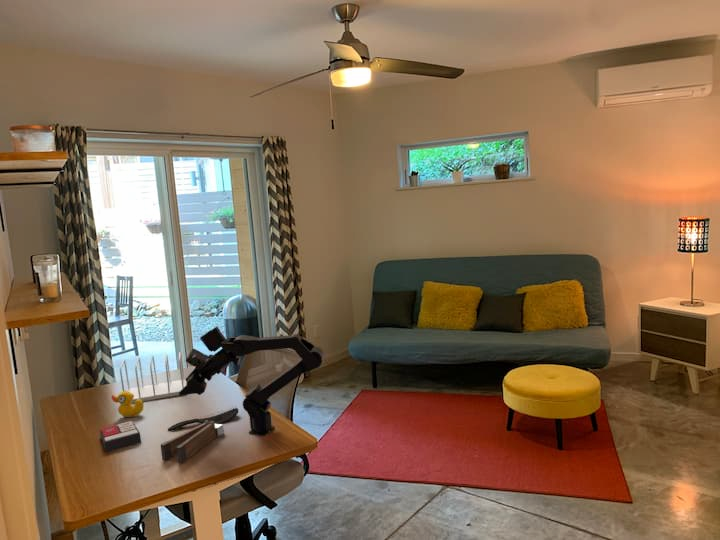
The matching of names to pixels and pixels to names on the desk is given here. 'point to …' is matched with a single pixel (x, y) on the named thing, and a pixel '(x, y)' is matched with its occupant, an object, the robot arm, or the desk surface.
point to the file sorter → (155, 389)
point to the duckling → (128, 404)
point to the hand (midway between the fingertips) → (182, 387)
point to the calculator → (120, 436)
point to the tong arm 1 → (178, 442)
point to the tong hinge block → (219, 429)
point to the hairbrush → (209, 419)
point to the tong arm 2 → (195, 442)
